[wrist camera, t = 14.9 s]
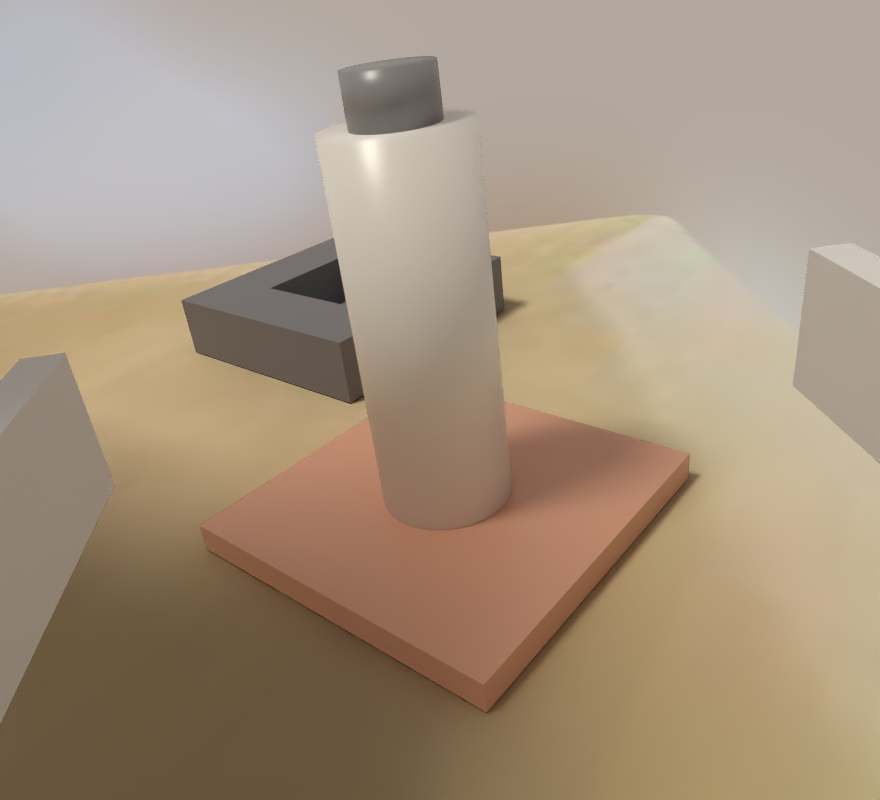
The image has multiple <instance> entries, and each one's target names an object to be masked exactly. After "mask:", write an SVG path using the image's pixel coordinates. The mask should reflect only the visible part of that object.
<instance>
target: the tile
mask: <svg viewBox="0 0 880 800" xmlns="http://www.w3.org/2000/svg"><path fill="white" fill-rule="evenodd" d="M504 404H505V415H506V426H507V437H508V447H509V458H510V469H511V480H512V490H511V494H510V496H509V498H508V500H507V502H506V503H505V504H504V505H503V506H502V507H501V509H499V510H498V511H497V512H496V513H494V514H493V515H491V516H490V517H488V518H486V519H484V520H482V521H480V522H478V523H475V524H472V525H469V526H466V527H461V528H456V529H449V530H427V529H420V528H416V527H412V526H409V525H406V524H404V523H402V522H400V521H398V520H397V519H396V518H394V517H393V516H392V515H391V514H390V513H389V511H388V510H387V508H386V506H385V503H384V498H383V492H382V487H381V482H380V477H379V471H378V466H377V461H376V456H375V450H374V445H373V440H372V435H371V430H370V424H369V419H368V418H366V419H365V420H363V421H362V422H360V423H359V424H357V425H356V426H354V427H352V428H351V429H349V430H348V431H346V432H345V433H343V434H342V435H340V436H338V437H337V438H335V439H334V440H332V441H331V442H329V443H328V444H326V445H324V446H323V447H321V448H320V449H318V450H317V451H315V452H314V453H312V454H310V455H309V456H307V457H306V458H304V459H303V460H301V461H300V462H298V463H296V464H295V465H293V466H292V467H290V468H289V469H287V470H286V471H284V472H282V473H281V474H279V475H278V476H276V477H275V478H273V479H272V480H270V481H268V482H267V483H265V484H264V485H262V486H261V487H259V488H258V489H256V490H254V491H253V492H251V493H250V494H248V495H247V496H245V497H244V498H242V499H241V500H239V501H237V502H236V503H234V504H233V505H231V506H230V507H228V508H227V509H225V510H223V511H222V512H220V513H219V514H217V515H216V516H214V517H213V518H211V519H209V520H208V521H206V522H205V523H203V524H202V525H200V529H201V532H202V535H203V538H204V541H205V544H206V547H207V549H208V550H210V551H211V552H213V553H215V554H216V555H218V556H220V557H222V558H223V559H225V560H227V561H228V562H230V563H232V564H234V565H235V566H237V567H239V568H240V569H242V570H244V571H246V572H247V573H249V574H251V575H252V576H254V577H256V578H258V579H259V580H261V581H263V582H264V583H266V584H268V585H270V586H271V587H273V588H275V589H276V590H278V591H280V592H281V593H283V594H285V595H287V596H288V597H290V598H292V599H293V600H295V601H297V602H299V603H300V604H302V605H304V606H305V607H307V608H309V609H311V610H312V611H314V612H316V613H317V614H319V615H321V616H323V617H324V618H326V619H328V620H329V621H331V622H333V623H334V624H336V625H338V626H340V627H341V628H343V629H345V630H346V631H348V632H350V633H352V634H353V635H355V636H357V637H358V638H360V639H362V640H364V641H365V642H367V643H369V644H370V645H372V646H374V647H376V648H377V649H379V650H381V651H382V652H384V653H386V654H387V655H389V656H391V657H393V658H394V659H396V660H398V661H399V662H401V663H403V664H405V665H406V666H408V667H410V668H411V669H413V670H415V671H417V672H418V673H420V674H422V675H423V676H425V677H427V678H429V679H430V680H432V681H434V682H435V683H437V684H439V685H440V686H442V687H444V688H446V689H447V690H449V691H451V692H452V693H454V694H456V695H458V696H459V697H461V698H463V699H464V700H466V701H468V702H470V703H471V704H473V705H475V706H476V707H478V708H480V709H482V710H483V711H485V712H488V711H489V710H490V708H491V707H492V706H493V705H494V704H495V703H496V701H497V700H498V699H499V698H500V697H501V696H502V694H503V693H504V692H505V691H506V690H507V689H508V687H509V686H510V685H511V684H512V683H513V682H514V680H515V679H516V678H517V677H518V676H519V675H520V673H521V672H522V671H523V670H524V669H525V668H526V666H527V665H528V664H529V663H530V662H531V661H532V659H533V658H534V657H535V656H536V655H537V654H538V652H539V651H540V650H541V649H542V648H543V647H544V645H545V644H546V643H547V642H548V641H549V640H550V638H551V637H552V636H553V635H554V634H555V633H556V631H557V630H558V629H559V628H560V627H561V626H562V624H563V623H564V622H565V621H566V620H567V619H568V617H569V616H570V615H571V614H572V613H573V612H574V610H575V609H576V608H577V607H578V606H579V605H580V603H581V602H582V601H583V600H584V599H585V598H586V596H587V595H588V594H589V593H590V592H591V591H592V589H593V588H594V587H595V586H596V585H597V584H598V582H599V581H600V580H601V579H602V578H603V577H604V575H605V574H606V573H607V572H608V571H609V570H610V568H611V567H612V566H613V565H614V564H615V563H616V561H617V560H618V559H619V558H620V557H621V556H622V555H623V553H624V552H625V551H626V550H627V549H628V548H629V546H630V545H631V544H632V543H633V542H634V541H635V539H636V538H637V537H638V536H639V535H640V534H641V532H642V531H643V530H644V529H645V528H646V527H647V525H648V524H649V523H650V522H651V521H652V520H653V518H654V517H655V516H656V515H657V514H658V513H659V511H660V510H661V509H662V508H663V507H664V506H665V504H666V503H667V502H668V501H669V500H670V499H671V497H672V496H673V495H674V494H675V493H676V492H677V490H678V489H679V488H680V487H681V486H682V485H683V483H684V482H685V481H686V480H687V479H688V475H689V457H690V454H688V453H685V452H681V451H678V450H674V449H671V448H667V447H664V446H660V445H657V444H653V443H649V442H646V441H642V440H639V439H635V438H632V437H628V436H625V435H621V434H618V433H614V432H611V431H607V430H603V429H600V428H596V427H593V426H589V425H586V424H582V423H579V422H575V421H572V420H568V419H565V418H561V417H557V416H554V415H550V414H547V413H543V412H540V411H536V410H533V409H529V408H526V407H522V406H519V405H515V404H511V403H508V402H504Z"/></svg>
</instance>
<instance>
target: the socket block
mask: <svg viewBox="0 0 880 800" xmlns="http://www.w3.org/2000/svg"><path fill="white" fill-rule="evenodd" d="M491 265H492V275H493V286H494V297H495V308H496V314H497V313H499V312H500V311H502V310H503V309H504V300H503V287H502V273H501V260H500V257H499V256H492V255H491ZM181 301H182V304H183V308H184V311H185V315H186V318H187V322H188V325H189V329H190V332H191V336H192V339H193V343H194V346H195V350H196V352H198V353H201V354H204V355H207V356H210V357H213V358H216V359H219V360H222V361H225V362H228V363H231V364H234V365H237V366H240V367H243V368H246V369H249V370H252V371H255V372H258V373H261V374H264V375H267V376H270V377H273V378H276V379H279V380H282V381H285V382H288V383H291V384H294V385H297V386H300V387H303V388H306V389H309V390H312V391H315V392H318V393H321V394H324V395H327V396H330V397H333V398H336V399H339V400H342V401H345V402H348V403H352V402H353V401H355V400H357V399H358V398H360V397H362V396H363V395H364V393H363V388H362V383H361V377H360V372H359V367H358V362H357V356H356V351H355V346H354V341H353V335H352V330H351V325H350V320H349V315H348V309H347V304H346V299H345V294H344V288H343V283H342V278H341V273H340V267H339V262H338V257H337V252H336V247H335V241H334V238H332V239H330V240H327V241H325V242H323V243H320V244H318V245H315V246H313V247H310V248H308V249H305V250H303V251H301V252H298V253H296V254H293V255H291V256H288V257H286V258H283V259H281V260H279V261H276V262H274V263H271V264H269V265H266V266H264V267H262V268H259V269H257V270H254V271H252V272H249V273H247V274H244V275H242V276H240V277H237V278H235V279H232V280H230V281H227V282H225V283H223V284H220V285H218V286H215V287H213V288H210V289H208V290H205V291H203V292H201V293H198V294H196V295H193V296H191V297H188V298H186V299H184V300H181Z"/></svg>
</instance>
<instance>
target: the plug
mask: <svg viewBox="0 0 880 800" xmlns="http://www.w3.org/2000/svg"><path fill="white" fill-rule="evenodd" d="M338 77H339V83H340V88H341V94H342V100H343V106H344V111H345V118H346V122H344V123H340V124H337V125H334V126H331V127H328V128H326V129H323V130H321V131H319V132H318V133H317V134H315V142H316V147H317V152H318V157H319V163H320V168H321V173H322V179H323V184H324V189H325V194H326V199H327V205H328V210H329V215H330V220H331V225H332V230H333V236H334V241H335V247H336V252H337V257H338V262H339V267H340V273H341V278H342V283H343V288H344V294H345V299H346V304H347V309H348V315H349V320H350V325H351V330H352V335H353V341H354V346H355V351H356V356H357V362H358V367H359V372H360V377H361V383H362V388H363V393H364V398H365V403H366V409H367V414H368V419H369V424H370V430H371V435H372V440H373V445H374V450H375V456H376V461H377V466H378V471H379V477H380V482H381V487H382V492H383V498H384V503H385V506H386V508H387V510H388V511H389V513H390V514H391V515H392V516H393V517H394V518H396V519H397V520H398V521H400V522H402V523H404V524H406V525H409V526H412V527H416V528H420V529H427V530H449V529H456V528H461V527H466V526H469V525H472V524H475V523H478V522H480V521H482V520H484V519H486V518H488V517H490V516H491V515H493V514H494V513H496V512H497V511H498V510H499V509H501V507H502V506H503V505H504V504H505V503H506V502H507V500H508V498H509V496H510V494H511V490H512V480H511V469H510V458H509V447H508V437H507V426H506V415H505V404H504V394H503V383H502V372H501V361H500V351H499V340H498V329H497V318H496V308H495V297H494V286H493V275H492V265H491V254H490V243H489V232H488V222H487V211H486V200H485V189H484V179H483V168H482V157H481V147H480V136H479V126H478V116H477V115H478V114H477V113H476V112H475V111H472V110H467V109H456V108H443V106H442V97H441V88H440V79H439V70H438V61H437V57H434V56H421V57H407V58H398V59H390V60H383V61H376V62H370V63H365V64H359V65H355V66H351V67H346V68H343V69H340V70H338Z"/></svg>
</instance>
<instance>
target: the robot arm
mask: <svg viewBox="0 0 880 800" xmlns="http://www.w3.org/2000/svg"><path fill="white" fill-rule="evenodd" d="M793 386H794V387H795V388H796V389H797V390H798V391H800V392H801V393H802V394H803V395H804V396H805V397H806V398H807V399H808V400H810V401H811V402H812V403H813V404H814V405H815V406H816V407H817V408H818V409H820V410H821V411H822V412H823V413H824V414H825V415H826V416H827V417H828V418H830V419H831V420H832V421H833V422H834V423H835V424H836V425H837V426H838V427H840V428H841V429H842V430H843V431H844V432H845V433H846V434H847V435H848V436H850V437H851V438H852V439H853V440H854V441H855V442H856V443H857V444H859V445H860V446H861V447H862V448H863V449H864V450H865V451H866V452H867V453H869V454H870V455H871V456H872V457H873V458H874V459H875V460H876V461H877V462H879V463H880V257H879V256H877V255H875V254H873V253H871V252H869V251H867V250H865V249H862V248H861V247H859V246H857V245H855V244H853V243H845V244H838V245H831V246H824V247H817V248H810V249H809V256H808V265H807V273H806V282H805V290H804V299H803V306H802V315H801V323H800V331H799V339H798V347H797V356H796V364H795V372H794V381H793ZM113 487H114V482H113V479H112V477H111V474H110V471H109V469H108V466H107V463H106V461H105V458H104V455H103V453H102V450H101V447H100V445H99V442H98V439H97V437H96V434H95V431H94V429H93V426H92V423H91V421H90V418H89V415H88V413H87V410H86V407H85V405H84V402H83V399H82V397H81V394H80V391H79V389H78V386H77V383H76V381H75V378H74V375H73V373H72V370H71V367H70V365H69V362H68V359H67V357H66V354H65V353H61V354H54V355H47V356H39V357H32V358H25V359H20V360H19V361H18V362H17V363H16V364H15V365H14V366H13V368H12V369H11V370H10V371H9V372H8V373H7V374H6V375H5V376H4V378H3V379H2V380H1V381H0V723H1V721H2V719H3V717H4V715H5V713H6V711H7V709H8V707H9V705H10V702H11V700H12V698H13V696H14V694H15V692H16V690H17V688H18V686H19V684H20V682H21V679H22V677H23V675H24V673H25V671H26V669H27V667H28V665H29V663H30V661H31V659H32V657H33V654H34V652H35V650H36V648H37V646H38V644H39V642H40V640H41V638H42V636H43V634H44V631H45V629H46V627H47V625H48V623H49V621H50V619H51V617H52V615H53V613H54V611H55V609H56V606H57V604H58V602H59V600H60V598H61V596H62V594H63V592H64V590H65V588H66V586H67V583H68V581H69V579H70V577H71V575H72V573H73V571H74V569H75V567H76V565H77V563H78V561H79V558H80V556H81V554H82V552H83V550H84V548H85V546H86V544H87V542H88V540H89V538H90V535H91V533H92V531H93V529H94V527H95V525H96V523H97V521H98V519H99V517H100V515H101V513H102V510H103V508H104V506H105V504H106V502H107V500H108V498H109V496H110V494H111V492H112V490H113Z"/></svg>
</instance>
